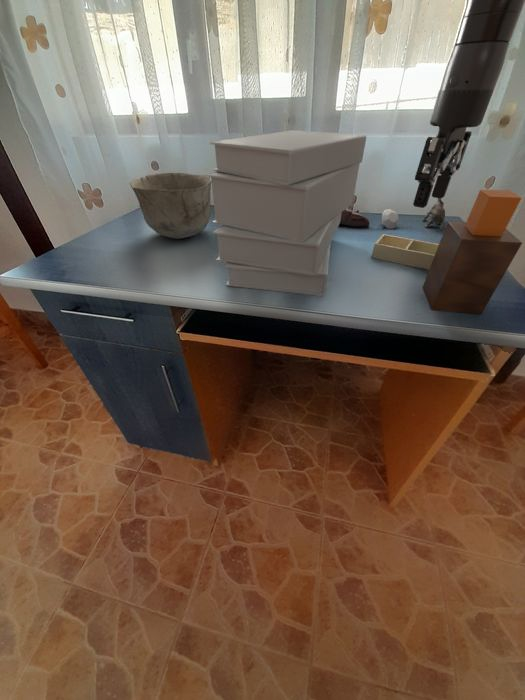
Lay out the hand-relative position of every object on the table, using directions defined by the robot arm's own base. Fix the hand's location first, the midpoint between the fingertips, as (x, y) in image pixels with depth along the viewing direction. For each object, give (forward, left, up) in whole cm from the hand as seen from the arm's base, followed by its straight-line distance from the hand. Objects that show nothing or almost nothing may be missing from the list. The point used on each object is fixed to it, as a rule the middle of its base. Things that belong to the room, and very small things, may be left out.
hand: (428, 201), depth 56 cm
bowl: (+62, +18, -17) cm, 66 cm away
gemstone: (+20, -31, -17) cm, 41 cm away
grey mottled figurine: (+10, -41, -17) cm, 46 cm away
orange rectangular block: (-10, +1, -3) cm, 11 cm away
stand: (-10, +1, -17) cm, 20 cm away
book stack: (+27, +9, -17) cm, 33 cm away
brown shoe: (+30, -24, -17) cm, 42 cm away
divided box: (+2, -13, -17) cm, 21 cm away
